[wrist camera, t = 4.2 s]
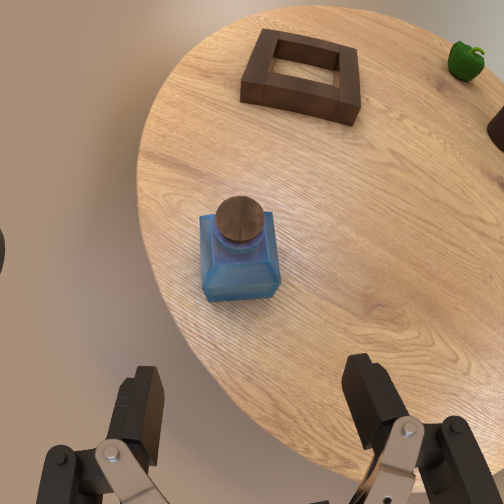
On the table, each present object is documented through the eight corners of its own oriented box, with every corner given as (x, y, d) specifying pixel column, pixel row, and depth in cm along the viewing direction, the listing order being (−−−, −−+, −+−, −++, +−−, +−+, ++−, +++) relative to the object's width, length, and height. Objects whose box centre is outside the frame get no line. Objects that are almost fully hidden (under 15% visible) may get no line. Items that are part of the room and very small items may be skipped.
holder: (240, 101, 39) (240, 80, 35) (260, 46, 44) (262, 28, 40) (352, 126, 39) (361, 107, 35) (350, 66, 44) (356, 49, 40)
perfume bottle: (271, 297, 30) (294, 260, 19) (208, 301, 30) (192, 267, 18) (265, 238, 32) (281, 174, 21) (205, 242, 32) (191, 179, 20)
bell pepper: (436, 63, 49) (453, 32, 39) (451, 61, 50) (467, 33, 41) (463, 88, 46) (484, 58, 37) (476, 85, 48) (495, 57, 39)
